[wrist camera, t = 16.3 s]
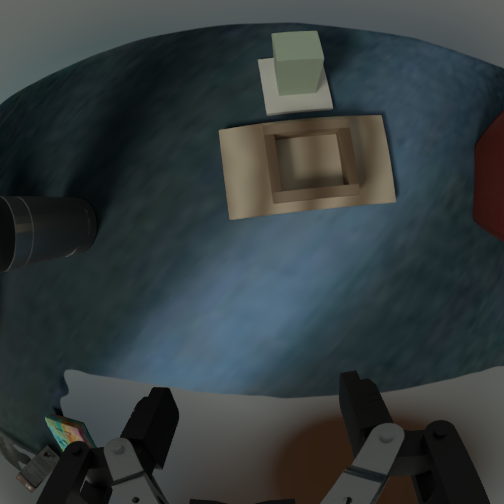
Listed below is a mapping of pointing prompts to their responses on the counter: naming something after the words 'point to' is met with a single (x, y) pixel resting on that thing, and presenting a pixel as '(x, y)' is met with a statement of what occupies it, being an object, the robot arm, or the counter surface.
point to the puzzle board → (306, 165)
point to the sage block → (297, 62)
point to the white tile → (292, 102)
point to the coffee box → (38, 468)
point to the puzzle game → (68, 431)
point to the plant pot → (490, 179)
